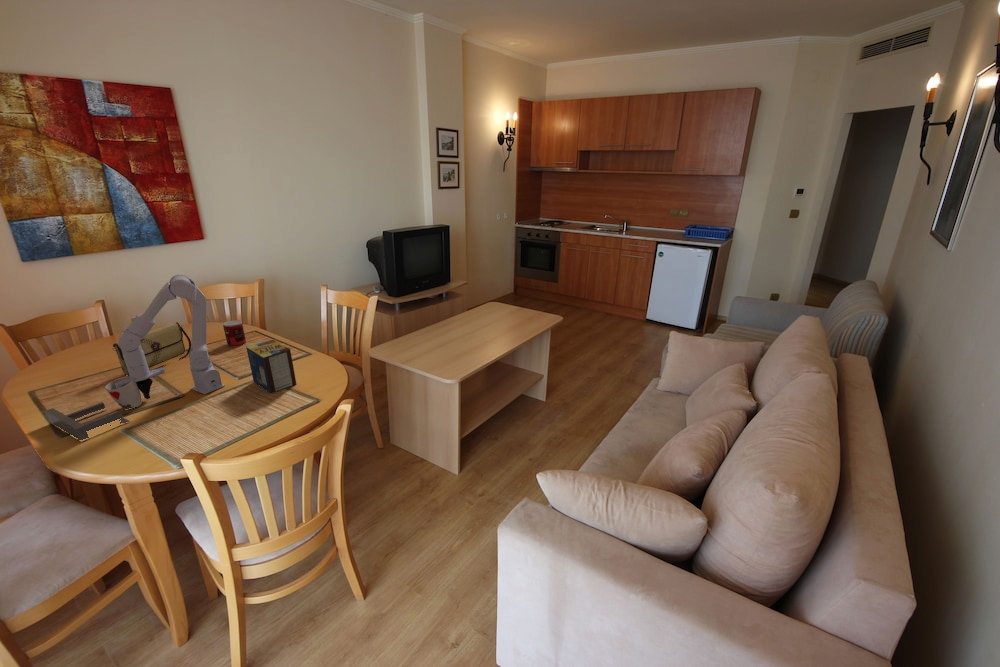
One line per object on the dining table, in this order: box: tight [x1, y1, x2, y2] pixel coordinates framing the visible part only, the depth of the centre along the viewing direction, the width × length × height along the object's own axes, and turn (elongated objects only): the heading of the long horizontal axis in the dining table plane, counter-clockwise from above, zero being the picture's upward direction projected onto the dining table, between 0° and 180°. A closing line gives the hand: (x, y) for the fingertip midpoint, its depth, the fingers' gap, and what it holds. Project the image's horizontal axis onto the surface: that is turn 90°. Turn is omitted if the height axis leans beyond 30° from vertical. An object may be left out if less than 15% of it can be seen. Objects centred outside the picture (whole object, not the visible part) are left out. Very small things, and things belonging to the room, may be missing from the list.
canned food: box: [222, 319, 247, 347], centre depth 208 cm, size 8×8×11 cm
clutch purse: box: [111, 321, 192, 375], centre depth 185 cm, size 30×7×15 cm, turn 165°
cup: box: [104, 376, 143, 410], centre depth 153 cm, size 8×8×10 cm
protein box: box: [246, 339, 297, 394], centre depth 170 cm, size 10×15×16 cm
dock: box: [44, 402, 130, 440], centre depth 144 cm, size 22×13×5 cm, turn 63°
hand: (147, 398), depth 159 cm, fingers closed
